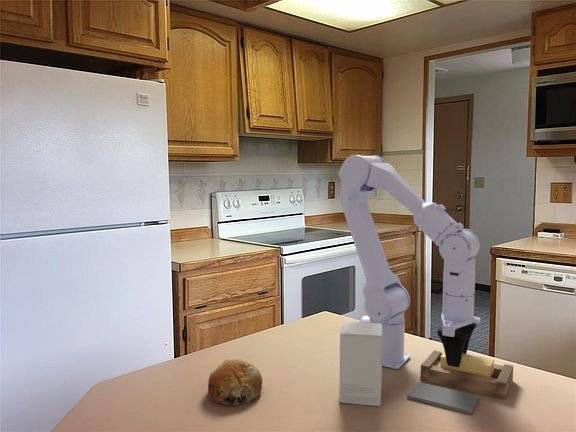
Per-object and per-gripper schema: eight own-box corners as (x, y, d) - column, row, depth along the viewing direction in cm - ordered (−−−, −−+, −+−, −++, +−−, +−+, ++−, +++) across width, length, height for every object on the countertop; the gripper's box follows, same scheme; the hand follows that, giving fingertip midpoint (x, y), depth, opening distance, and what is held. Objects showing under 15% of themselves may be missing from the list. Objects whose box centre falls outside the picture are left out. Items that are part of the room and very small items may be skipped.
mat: (407, 398, 87) (407, 395, 87) (418, 384, 93) (418, 381, 93) (471, 414, 81) (471, 411, 81) (479, 399, 87) (479, 396, 87)
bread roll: (266, 409, 91) (273, 364, 94) (246, 409, 82) (254, 360, 85) (219, 401, 94) (226, 358, 97) (194, 400, 85) (203, 353, 88)
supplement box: (381, 407, 84) (382, 335, 83) (338, 403, 86) (338, 333, 84) (381, 388, 91) (382, 322, 90) (342, 384, 93) (342, 320, 92)
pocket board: (420, 380, 95) (420, 365, 94) (433, 364, 102) (433, 350, 102) (505, 399, 87) (506, 383, 86) (512, 380, 94) (513, 365, 94)
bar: (440, 369, 95) (440, 356, 95) (445, 362, 98) (446, 350, 98) (489, 379, 90) (490, 366, 90) (493, 371, 94) (494, 359, 93)
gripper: (472, 305, 86) (469, 380, 87) (487, 288, 98) (485, 353, 99) (431, 299, 89) (429, 371, 91) (451, 283, 102) (449, 347, 103)
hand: (456, 361), depth 95 cm, fingers closed on bar, 4 cm apart
